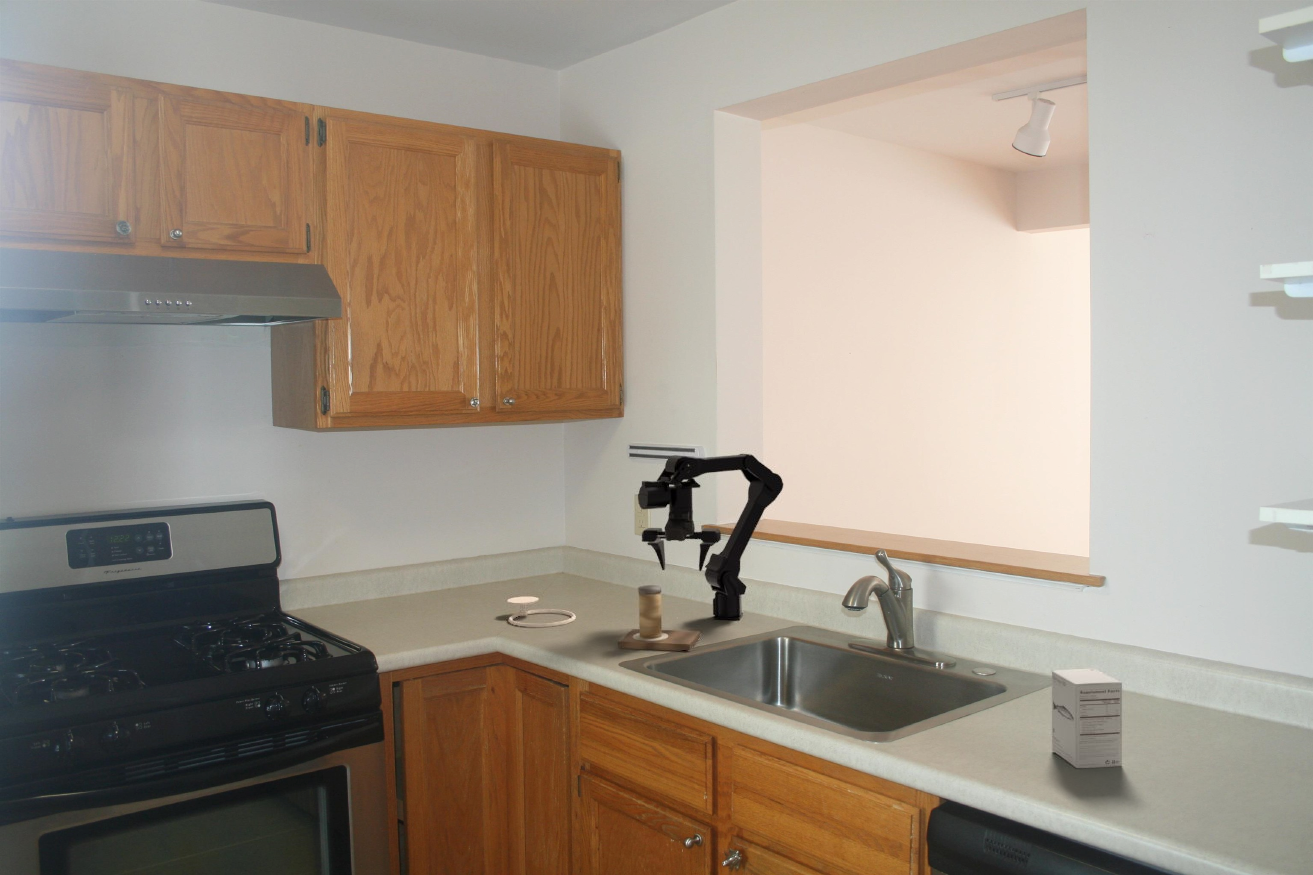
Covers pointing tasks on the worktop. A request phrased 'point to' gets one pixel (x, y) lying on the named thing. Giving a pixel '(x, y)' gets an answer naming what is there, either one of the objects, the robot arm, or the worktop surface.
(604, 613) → the worktop surface
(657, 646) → the walnut board
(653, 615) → the tan jar with lid
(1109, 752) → the supplement box
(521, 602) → the hand towel holder
